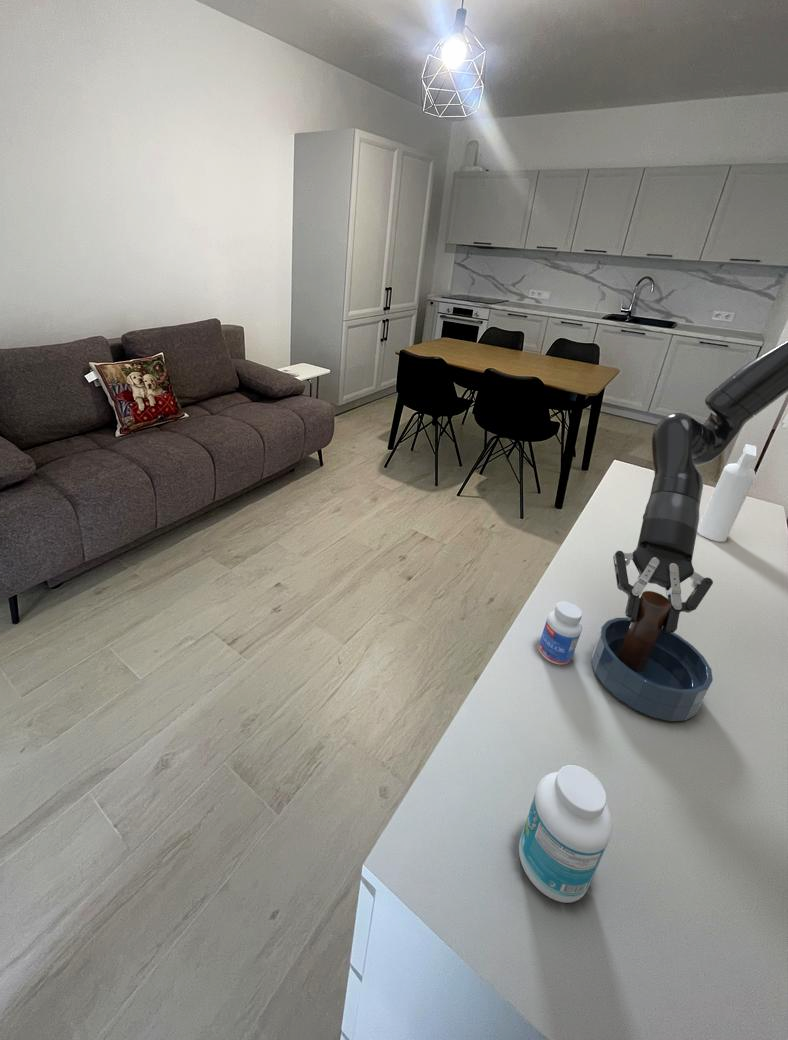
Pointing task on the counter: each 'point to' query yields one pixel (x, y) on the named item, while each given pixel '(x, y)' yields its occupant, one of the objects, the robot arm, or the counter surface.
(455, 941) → the counter surface
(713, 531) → the white spray bottle
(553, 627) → the pill bottle
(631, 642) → the brown wooden dowel
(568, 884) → the pill bottle
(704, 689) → the bowl
